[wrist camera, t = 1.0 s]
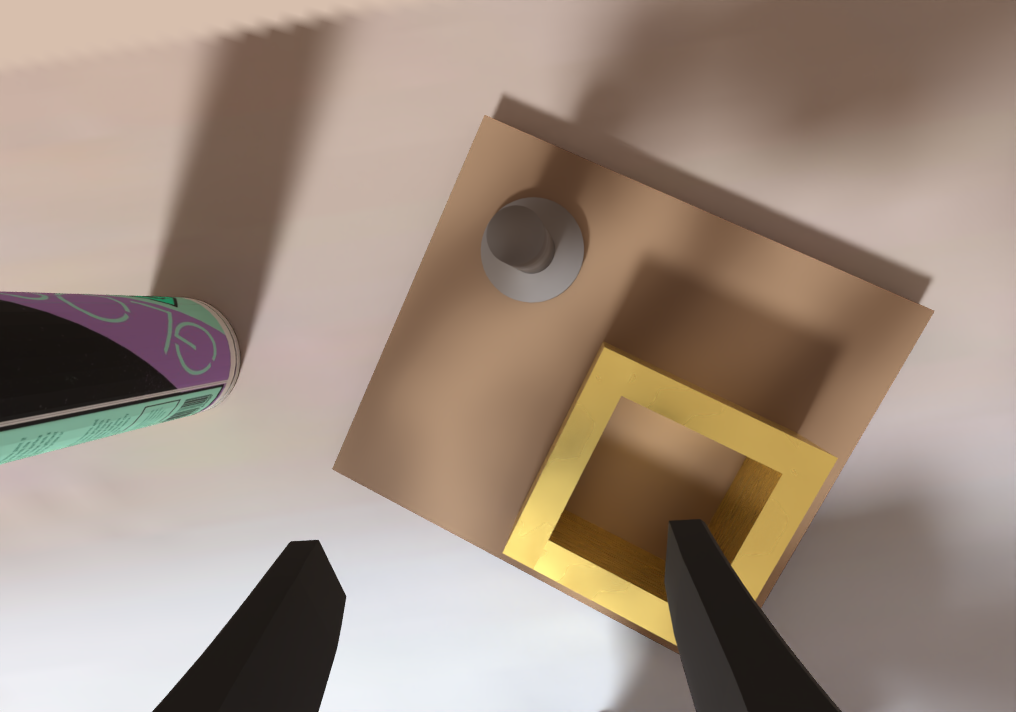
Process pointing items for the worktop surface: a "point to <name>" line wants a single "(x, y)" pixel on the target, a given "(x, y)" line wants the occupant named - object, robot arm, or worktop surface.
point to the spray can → (106, 366)
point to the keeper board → (621, 323)
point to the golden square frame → (735, 526)
